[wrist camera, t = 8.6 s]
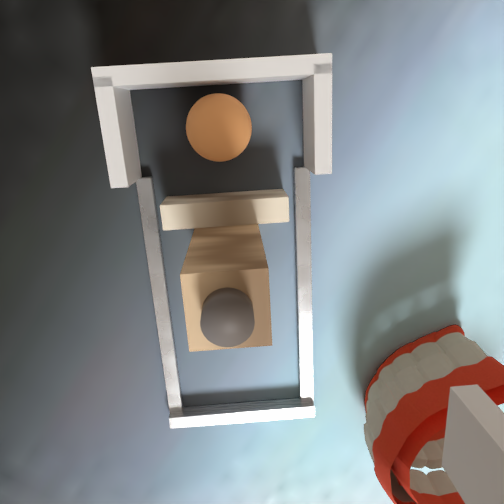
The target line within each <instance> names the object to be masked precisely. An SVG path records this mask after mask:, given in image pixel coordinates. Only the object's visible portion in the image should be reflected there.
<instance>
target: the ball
mask: <svg viewBox="0 0 504 504" xmlns="http://www.w3.org/2000/svg"><path fill="white" fill-rule="evenodd" d="M251 131H252V125H251V119H250V116H249V113H248V112H247V110H246V108H245V107H244V105H243V104H242V103H241V102H240V101H238V100H237V99H236V98H234V97H232V96H230V95H227V94H222V93H214V94H209V95H206V96H204V97H202V98H201V99H199V100H198V101H197V102H196V103H195V104H194V105H193V106H192V108H191V109H190V111H189V113H188V116H187V121H186V133H187V137H188V140H189V142H190V144H191V146H192V147H193V149H194V150H195V151H196V152H197V153H198V154H199V155H201V156H202V157H204V158H206V159H208V160H211V161H217V162H222V161H228V160H231V159H233V158H235V157H237V156H238V155H239V154H241V153H242V152H243V151H244V149H245V148H246V146H247V145H248V143H249V140H250V137H251Z"/></svg>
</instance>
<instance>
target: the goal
mask: <svg viewBox="0 0 504 504" xmlns="http://www.w3.org/2000/svg"><path fill="white" fill-rule="evenodd" d="M91 71H92V77H93V83H94V89H95V95H96V101H97V107H98V113H99V119H100V125H101V131H102V137H103V143H104V149H105V155H106V161H107V167H108V173H109V179H110V185H111V188H120V187H129V186H130V185H132V184H133V183H134V182H136V181H137V180H139V179H140V178H141V177H142V173H141V166H140V159H139V152H138V145H137V138H136V131H135V123H134V116H133V109H132V102H131V95H130V90H138V89H155V88H172V87H188V86H205V85H222V84H238V83H255V82H271V81H288V80H302V90H303V142H304V167H305V168H307V169H308V170H309V171H311V172H312V173H314V174H315V175H317V174H332V53H325V54H308V55H291V56H274V57H257V58H240V59H223V60H206V61H189V62H171V63H154V64H137V65H120V66H103V67H91Z"/></svg>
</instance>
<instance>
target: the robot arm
mask: <svg viewBox="0 0 504 504" xmlns="http://www.w3.org/2000/svg"><path fill="white" fill-rule="evenodd" d="M442 467H443V468H444V470H445V472H446V473H447V475H448V477H449V478H450V480H451V481H452V483H453V485H454V486H455V488H456V490H457V491H458V493H459V494H460V496H461V498H462V499H463V501H464V503H465V504H504V413H503V412H502V410H501V409H500V408H499V407H498V406H497V405H496V404H495V403H494V402H493V401H492V400H491V399H490V397H489V396H488V395H487V394H486V393H485V392H484V391H483V390H482V389H481V388H480V387H479V386H478V385H477V384H476V385H465V386H454V387H450V393H449V403H448V412H447V421H446V430H445V439H444V448H443V457H442Z"/></svg>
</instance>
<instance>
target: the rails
mask: <svg viewBox="0 0 504 504" xmlns="http://www.w3.org/2000/svg"><path fill="white" fill-rule="evenodd" d="M136 184H137V191H138V198H139V205H140V212H141V218H142V225H143V232H144V239H145V246H146V253H147V260H148V266H149V273H150V280H151V287H152V294H153V301H154V307H155V314H156V321H157V328H158V335H159V342H160V348H161V355H162V362H163V369H164V376H165V383H166V389H167V396H168V403H169V410H170V415H169V422H170V429H171V428H184V427H196V426H208V425H221V424H233V423H245V422H258V421H270V420H283V419H295V418H307V417H315V406H314V402H313V344H312V276H311V208H310V171H309V170H308V169H307V168H305V167H294V195H295V232H296V270H297V307H298V344H299V382H300V398H292V399H279V400H267V401H254V402H242V403H229V404H217V405H204V406H191V407H183V402H182V394H181V387H180V379H179V372H178V364H177V357H176V349H175V342H174V334H173V327H172V319H171V312H170V304H169V297H168V289H167V282H166V274H165V267H164V259H163V252H162V244H161V237H160V229H159V222H158V214H157V207H156V199H155V192H154V184H153V177H152V176H151V177H141V178H140V179H139V180H137V181H136Z"/></svg>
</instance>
